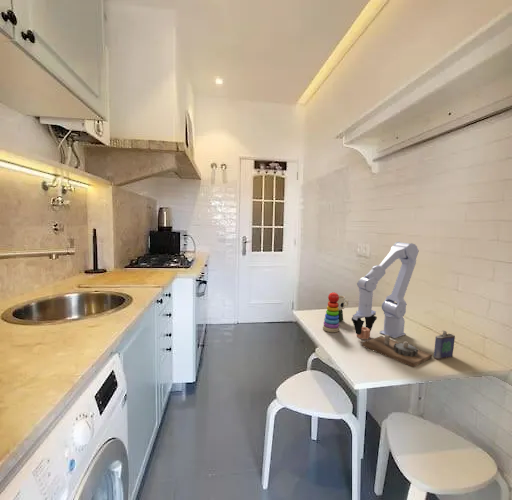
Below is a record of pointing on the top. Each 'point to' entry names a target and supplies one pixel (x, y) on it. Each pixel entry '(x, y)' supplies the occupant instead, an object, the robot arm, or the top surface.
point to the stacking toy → (332, 314)
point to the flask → (444, 346)
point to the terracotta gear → (364, 333)
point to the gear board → (397, 350)
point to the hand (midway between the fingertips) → (363, 332)
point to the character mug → (341, 306)
